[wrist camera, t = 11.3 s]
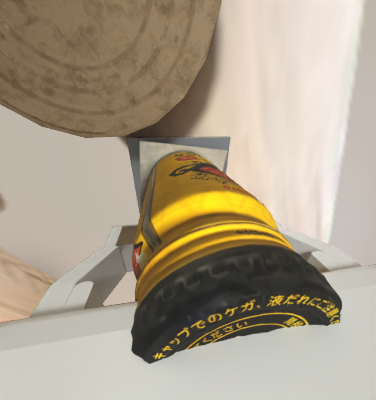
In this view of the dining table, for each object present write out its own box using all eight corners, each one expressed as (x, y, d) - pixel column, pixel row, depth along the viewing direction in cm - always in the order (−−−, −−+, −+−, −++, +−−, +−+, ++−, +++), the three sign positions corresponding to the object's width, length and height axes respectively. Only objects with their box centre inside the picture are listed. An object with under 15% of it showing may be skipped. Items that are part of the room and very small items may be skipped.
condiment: (226, 150, 13) (474, 248, 3) (209, 229, 17) (287, 407, 6) (140, 140, 12) (-37, 254, 1) (140, 228, 16) (91, 451, 5)
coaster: (128, 137, 13) (126, 138, 13) (227, 136, 15) (230, 137, 14) (142, 222, 18) (141, 225, 17) (218, 216, 19) (220, 218, 18)
